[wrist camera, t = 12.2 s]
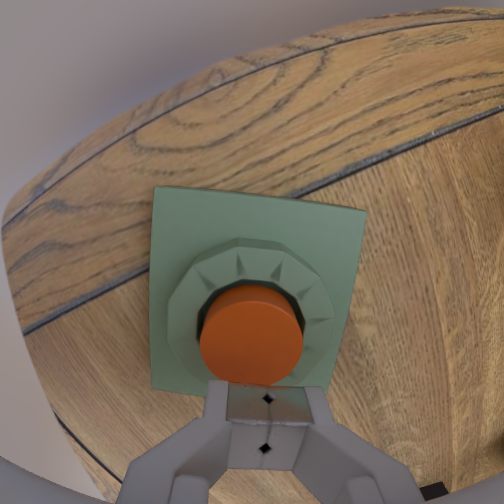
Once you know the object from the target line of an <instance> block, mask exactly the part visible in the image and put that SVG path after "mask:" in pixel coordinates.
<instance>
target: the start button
mask: <svg viewBox="0 0 504 504" xmlns="http://www.w3.org/2000/svg"><path fill="white" fill-rule="evenodd" d="M302 349H303V337H302V333H301V330H300V327H299V324H298V322H297V319H296V316H295V314H294V311H293V309H292V307H291V305H290V304H289V302H288V301H287V300H286V299H285V298H284V297H283V296H282V295H281V294H280V293H278V292H276V291H275V290H273V289H271V288H268V287H265V286H261V285H253V284H248V285H241V286H236V287H233V288H231V289H229V290H227V291H225V292H223V293H222V294H220V295H219V296H218V297H217V298H216V299H215V300H214V301H213V302H212V304H211V305H210V307H209V309H208V311H207V314H206V317H205V321H204V325H203V329H202V333H201V337H200V352H201V356H202V359H203V361H204V363H205V365H206V366H207V368H208V369H209V370H210V371H211V372H212V374H213V375H215V376H216V377H217V378H218V379H220V380H224V381H228V383H229V381H233V382H242V383H252V384H263V385H272V384H274V383H277V382H278V381H280V380H282V379H283V378H285V377H286V376H287V375H288V374H289V373H290V372H291V371H292V370H293V369H294V368H295V366H296V365H297V363H298V361H299V359H300V357H301V354H302Z"/></svg>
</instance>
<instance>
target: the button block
mask: <svg viewBox="0 0 504 504" xmlns="http://www.w3.org/2000/svg"><path fill="white" fill-rule="evenodd" d="M366 216H367V211H364V210H361V209H357V208H353V207H348V206H342V205H335V204H329V203H322V202H315V201H308V200H300V199H293V198H285V197H277V196H269V195H261V194H252V193H243V192H234V191H224V190H214V189H204V188H193V187H181V186H168V185H167V186H155V188H154V197H153V210H152V225H151V243H150V270H149V343H150V369H151V387H152V389H156V390H162V391H168V392H175V393H181V394H189V395H196V396H205V397H206V392H207V386H208V381H209V379H215V380H220V379H218V378H217V377H216V376H215V375H213V374H212V372H211V371H210V370H209V369H208V368H207V366H206V365H205V363H204V361H203V359H202V356H201V352H200V337H201V333H202V329H203V325H204V321H205V317H206V314H207V311H208V309H209V307H210V305H211V304H212V302H213V301H214V300H215V299H216V298H217V297H218V296H219V295H220V294H222V293H223V292H225V291H227V290H229V289H231V288H233V287H236V286H241V285H248V284H253V285H261V286H265V287H268V288H271V289H273V290H275V291H276V292H278V293H280V294H281V295H282V296H283V297H284V298H285V299H286V300H287V301H288V302H289V304H290V305H291V307H292V309H293V311H294V314H295V316H296V319H297V322H298V324H299V327H300V330H301V333H302V337H303V349H302V354H301V357H300V359H299V361H298V363H297V365H296V366H295V368H294V369H293V370H292V371H291V372H290V373H289V374H288V375H287V376H286V377H285V378H283V379H282V380H280V381H278V382H277V383H274V384H272V385H273V386H299V387H302V386H321V387H322V388H323V391H324V394H325V396H326V393H327V390H328V387H329V383H330V380H331V377H332V373H333V370H334V366H335V362H336V359H337V355H338V351H339V348H340V344H341V340H342V336H343V332H344V328H345V324H346V319H347V315H348V311H349V307H350V302H351V298H352V293H353V288H354V283H355V279H356V274H357V268H358V263H359V258H360V253H361V247H362V241H363V235H364V229H365V223H366ZM228 385H229V384H228Z"/></svg>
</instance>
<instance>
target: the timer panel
mask: <svg viewBox="0 0 504 504" xmlns="http://www.w3.org/2000/svg"><path fill="white" fill-rule="evenodd" d="M419 490H420V492H421V494H422V496H423V498H424V500H425V502H426V501H429V500H432V499H435V498H438V497H441V496H444V495H447V494H449V493H448V491H447V489H446V488H445V486H444V484H443V482H440V483H437V484H433V485H430V486H427V487H423V488H420V489H419Z"/></svg>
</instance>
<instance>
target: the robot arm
mask: <svg viewBox="0 0 504 504" xmlns="http://www.w3.org/2000/svg"><path fill="white" fill-rule="evenodd" d="M228 384H229V385H228ZM227 468H228V469H252V470H279V471H292V472H293V473H294V475H295V476H296V477H297V478H298V479H299V480H300V481H301V482H302V483H303V485H304V486H305V487H306V488H307V489H308V490H309V491H310V492H311V493H312V494H313V495H314V496H315V497H316V498H317V500H318V501H319V502H320V503H321V504H504V470H503V471H501V472H499V473H497V474H495V475H493V476H491V477H489V478H487V479H484V480H482V481H480V482H478V483H475V484H473V485H471V486H468V487H466V488H463V489H460V490H458V491H455V492H453V493H450V494H447V495H444V496H441V497H438V498H435V499H432V500H429V501H426V502H425V500H424V498H423V496H422V494H421V492H420V490H419V488H418V486H417V484H416V482H415V480H414V478H413V476H412V474H411V472H410V470H409V468H408V467H407V466H405V465H404V464H402V463H400V462H399V461H397V460H396V459H394V458H392V457H391V456H389V455H388V454H386V453H384V452H383V451H381V450H380V449H378V448H377V447H375V446H373V445H372V444H370V443H369V442H367V441H366V440H364V439H363V438H361V437H360V436H358V435H357V434H355V433H354V432H352V431H351V430H349V429H348V428H346V427H345V426H343V425H342V424H336V423H335V421H334V418H333V415H332V412H331V410H330V407H329V404H328V402H327V399H326V396H325V394H324V391H323V388H322V387H321V386H302V387H299V386H273V385H263V384H252V383H242V382H233V381H229V383H228V381H224V380H215V379H209V381H208V386H207V392H206V398H205V404H204V410H203V416H202V418H195V419H194V420H192V421H191V422H189V423H188V424H187V425H185V426H184V427H182V428H181V429H179V430H178V431H177V432H175V433H174V434H172V435H171V436H169V437H168V438H166V439H165V440H163V441H162V442H160V443H159V444H157V445H156V446H154V447H153V448H151V449H150V450H148V451H147V452H145V453H144V454H142V455H141V456H139V457H137V458H136V459H134V460H133V461H131V462H130V464H129V467H128V469H127V472H126V475H125V478H124V481H123V483H122V486H121V489H120V492H119V495H118V498H117V500H116V503H115V504H208V495H209V489H210V488H211V487H212V486H213V485H214V484H215V483H216V482H217V481H218V479H219V478H220V477H221V476H222V475H223V474H224V473H225V472H226V471H227ZM0 504H113V503H110V502H106V501H103V500H100V499H97V498H94V497H91V496H88V495H85V494H82V493H79V492H77V491H73V490H71V489H69V488H66V487H63V486H61V485H59V484H56V483H54V482H51V481H49V480H47V479H45V478H42V477H40V476H38V475H36V474H34V473H32V472H29V471H27V470H25V469H23V468H21V467H19V466H17V465H15V464H14V463H12V462H10V461H8V460H6V459H4V458H3V457H1V456H0Z"/></svg>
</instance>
